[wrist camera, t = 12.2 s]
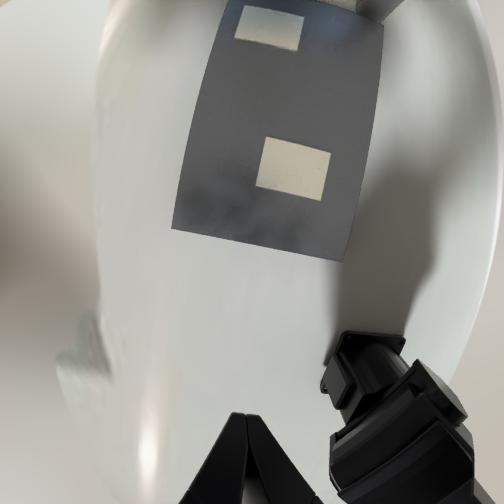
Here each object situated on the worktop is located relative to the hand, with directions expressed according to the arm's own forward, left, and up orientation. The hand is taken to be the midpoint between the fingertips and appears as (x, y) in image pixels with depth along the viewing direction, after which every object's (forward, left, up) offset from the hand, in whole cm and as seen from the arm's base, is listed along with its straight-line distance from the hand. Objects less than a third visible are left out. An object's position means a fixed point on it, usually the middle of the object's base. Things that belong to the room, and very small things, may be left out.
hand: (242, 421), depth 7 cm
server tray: (-1, -12, -13) cm, 18 cm away
